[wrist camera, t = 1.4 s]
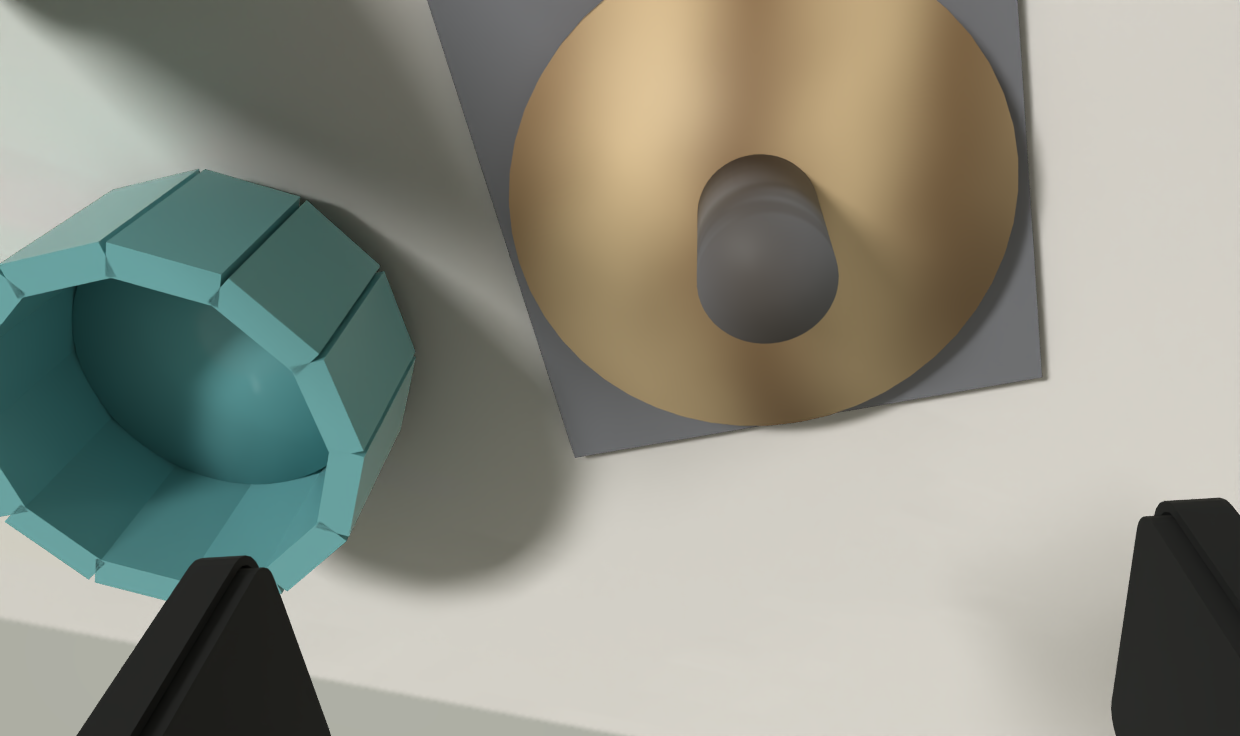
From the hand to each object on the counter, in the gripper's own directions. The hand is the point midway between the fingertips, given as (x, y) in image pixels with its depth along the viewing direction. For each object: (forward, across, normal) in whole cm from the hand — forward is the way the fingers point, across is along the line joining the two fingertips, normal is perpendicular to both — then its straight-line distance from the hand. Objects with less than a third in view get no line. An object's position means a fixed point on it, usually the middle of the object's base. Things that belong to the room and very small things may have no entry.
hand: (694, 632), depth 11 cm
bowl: (+22, +16, +6) cm, 28 cm away
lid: (+22, -2, +3) cm, 22 cm away
